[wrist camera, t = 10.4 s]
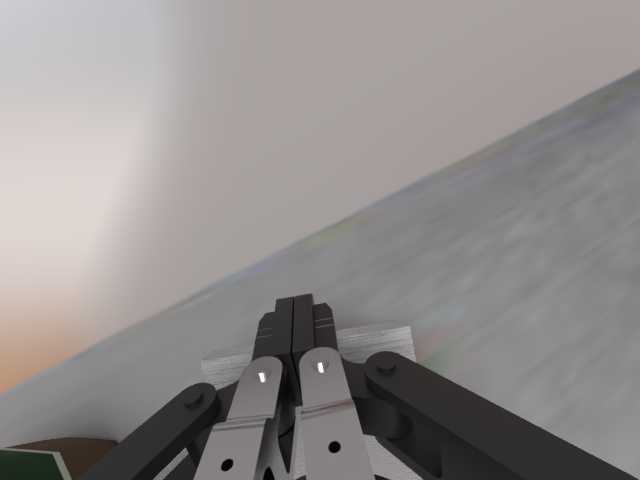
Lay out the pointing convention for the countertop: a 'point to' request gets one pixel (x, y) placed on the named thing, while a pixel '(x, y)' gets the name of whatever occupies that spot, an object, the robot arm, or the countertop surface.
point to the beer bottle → (52, 458)
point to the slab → (352, 347)
